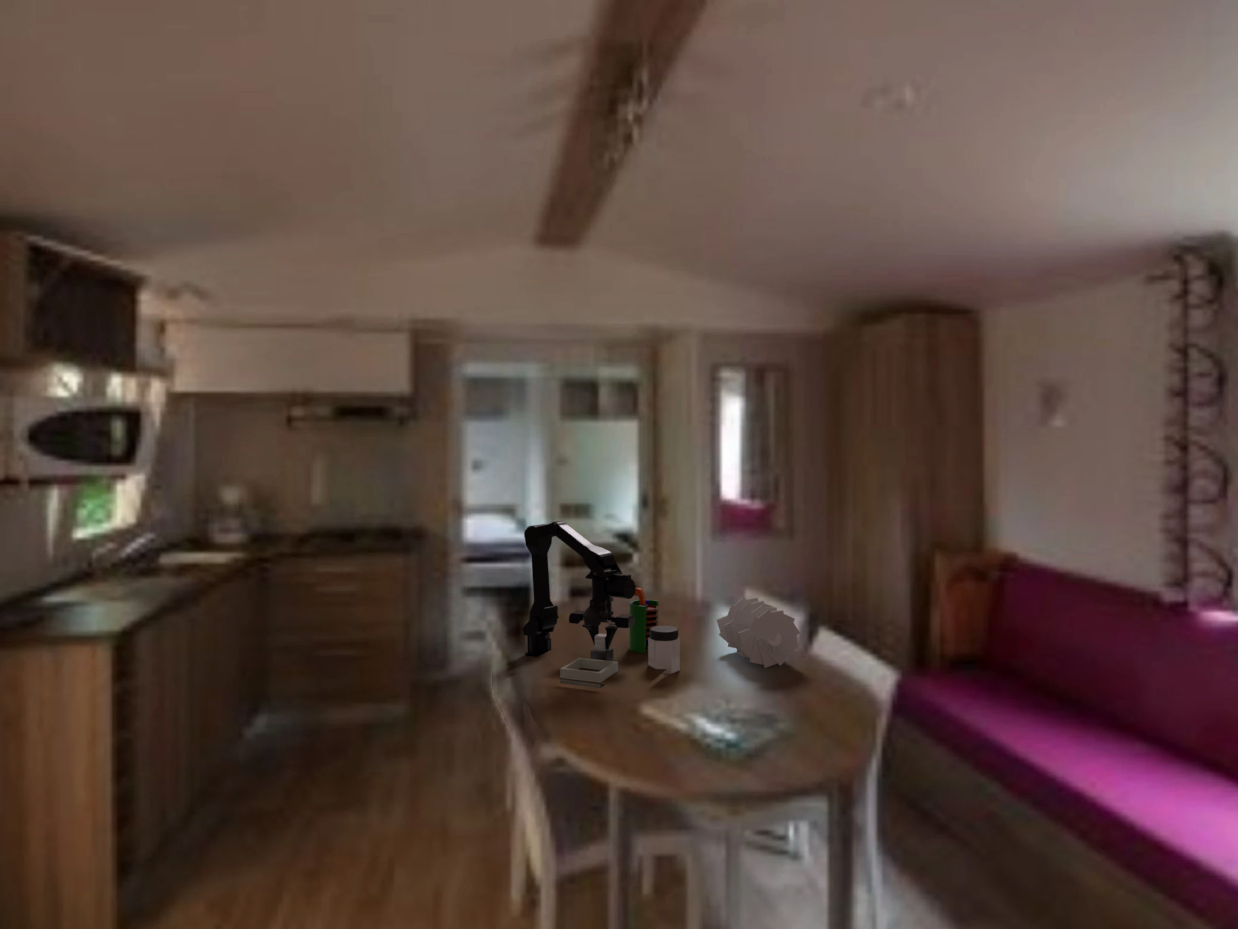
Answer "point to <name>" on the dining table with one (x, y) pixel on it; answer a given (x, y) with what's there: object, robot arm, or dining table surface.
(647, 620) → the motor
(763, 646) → the spiral staircase
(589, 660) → the bin
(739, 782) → the dining table surface
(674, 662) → the jar
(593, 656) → the grey square peg
